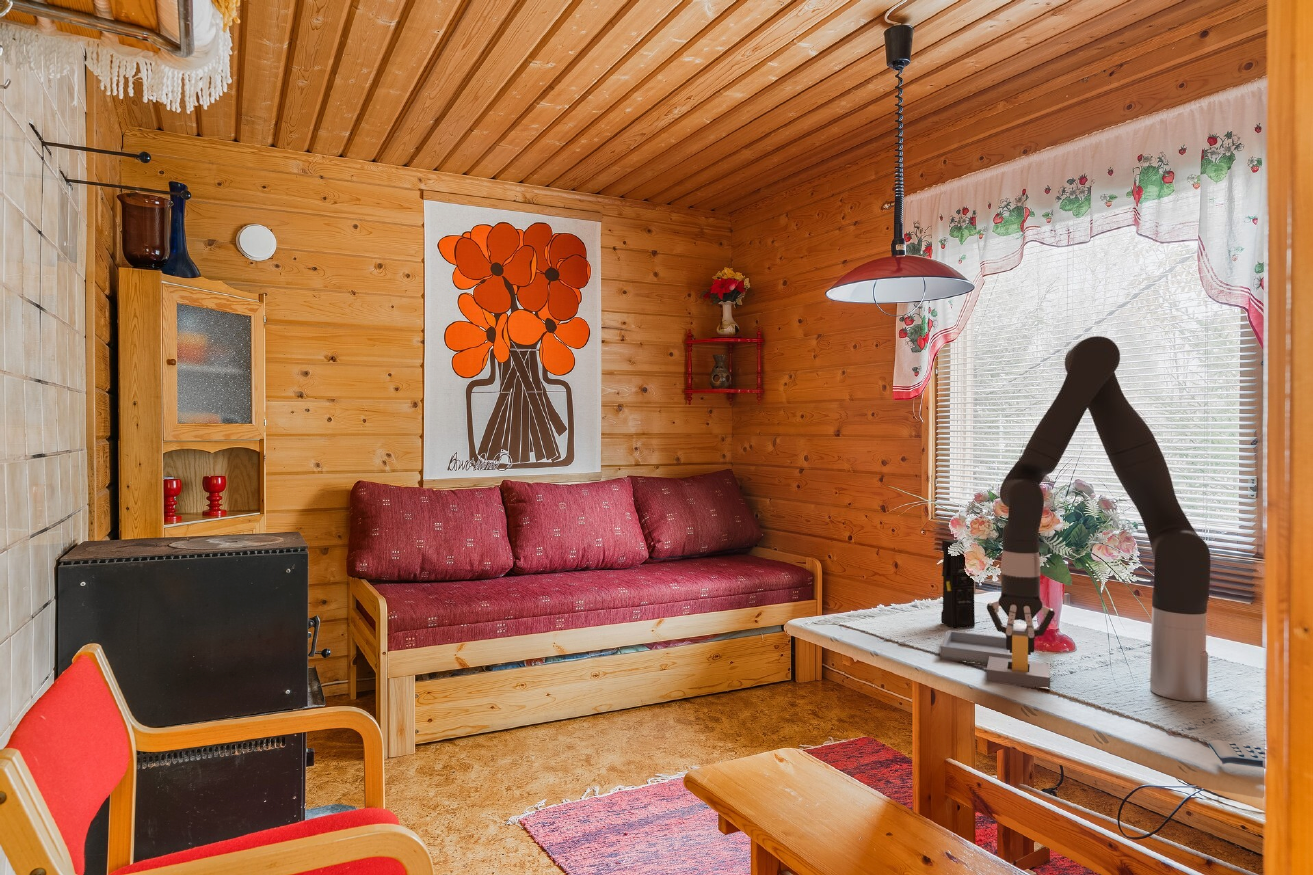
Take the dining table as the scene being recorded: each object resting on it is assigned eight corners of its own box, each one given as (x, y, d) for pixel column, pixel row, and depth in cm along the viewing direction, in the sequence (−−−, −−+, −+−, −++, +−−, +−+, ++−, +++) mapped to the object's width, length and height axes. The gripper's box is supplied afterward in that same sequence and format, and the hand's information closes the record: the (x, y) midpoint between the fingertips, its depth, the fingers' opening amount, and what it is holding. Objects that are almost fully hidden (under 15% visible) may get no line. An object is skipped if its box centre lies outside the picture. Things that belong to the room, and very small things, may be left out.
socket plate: (1049, 675, 171) (1049, 663, 171) (1049, 689, 162) (1050, 677, 162) (989, 667, 176) (989, 656, 176) (986, 680, 167) (986, 669, 167)
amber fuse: (1027, 664, 171) (1028, 624, 170) (1027, 673, 167) (1028, 631, 166) (1012, 662, 172) (1012, 622, 171) (1012, 671, 168) (1012, 630, 167)
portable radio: (950, 629, 207) (952, 534, 207) (936, 623, 213) (938, 530, 212) (976, 627, 209) (978, 533, 209) (962, 621, 215) (963, 529, 215)
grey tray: (1014, 650, 189) (1014, 637, 189) (1011, 668, 176) (1011, 654, 176) (947, 642, 196) (947, 630, 196) (940, 658, 182) (940, 646, 182)
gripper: (1057, 571, 169) (1056, 652, 169) (985, 566, 175) (985, 644, 175) (1057, 578, 162) (1057, 662, 162) (983, 572, 168) (983, 653, 169)
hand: (1020, 652), depth 169 cm, fingers closed on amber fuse, 2 cm apart
